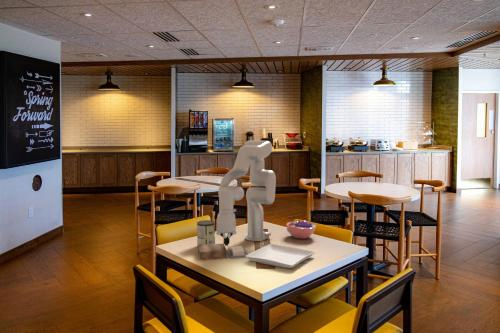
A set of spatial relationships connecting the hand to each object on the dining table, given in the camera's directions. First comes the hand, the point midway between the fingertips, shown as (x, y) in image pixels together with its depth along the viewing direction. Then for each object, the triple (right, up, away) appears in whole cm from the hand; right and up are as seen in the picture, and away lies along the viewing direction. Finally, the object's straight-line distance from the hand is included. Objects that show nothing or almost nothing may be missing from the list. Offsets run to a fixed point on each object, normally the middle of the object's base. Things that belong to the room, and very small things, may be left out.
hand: (226, 245), depth 230 cm
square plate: (+28, -7, -8) cm, 30 cm away
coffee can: (-13, -4, +15) cm, 20 cm away
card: (+6, -2, +1) cm, 6 cm away
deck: (-8, -5, -1) cm, 9 cm away
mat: (+6, -5, +2) cm, 8 cm away
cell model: (+44, -2, +35) cm, 56 cm away
